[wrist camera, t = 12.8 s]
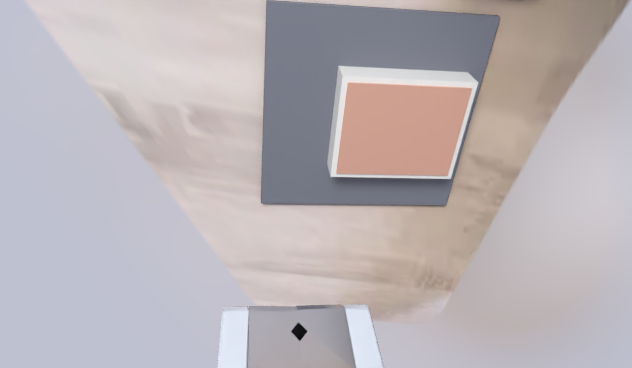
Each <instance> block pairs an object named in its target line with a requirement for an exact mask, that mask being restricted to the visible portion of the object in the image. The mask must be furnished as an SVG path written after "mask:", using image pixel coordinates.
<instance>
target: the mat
mask: <svg viewBox="0 0 632 368" xmlns="http://www.w3.org/2000/svg"><path fill="white" fill-rule="evenodd" d="M499 20H500V17H499V16H497V15H484V14H469V13H454V12H439V11H423V10H408V9H393V8H378V7H363V6H348V5H333V4H318V3H303V2H288V1H273V0H267V2H266V38H265V74H264V109H263V145H262V181H261V203H273V204H370V205H446V203H447V199H448V196H449V192H450V189H451V185H452V182H453V178H454V175H455V172H456V168H457V165H458V161H459V158H460V154H461V151H462V147H463V144H464V141H465V137H466V134H467V130H468V127H469V123H470V120H471V116H472V113H473V109H474V106H475V103H476V99H477V96H478V92H479V89H480V85H481V82H482V78H483V75H484V72H485V68H486V65H487V61H488V58H489V54H490V51H491V47H492V44H493V40H494V37H495V34H496V30H497V27H498V23H499ZM338 66H351V67H372V68H392V69H412V70H433V71H453V72H468V73H469V74H470V75H471V76H472V77H473V78H474V79H475V80H476V81H477V82H478V85H477V89H476V92H475V96H474V99H473V103H472V106H471V110H470V113H469V117H468V120H467V124H466V127H465V131H464V134H463V138H462V141H461V145H460V148H459V152H458V155H457V159H456V162H455V166H454V169H453V173H452V176H451V179H423V178H367V177H330V173H329V169H328V164H327V161H328V152H329V144H330V135H331V126H332V118H333V109H334V100H335V91H336V83H337V74H338Z"/></svg>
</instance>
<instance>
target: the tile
mask: <svg viewBox="0 0 632 368" xmlns="http://www.w3.org/2000/svg"><path fill="white" fill-rule="evenodd" d="M477 85H478V82H477V81H476V80H475V79H474V78H473V77H472V76H471V75H470V74H469V73H468V72H453V71H433V70H412V69H392V68H372V67H351V66H338V74H337V83H336V91H335V100H334V109H333V118H332V126H331V135H330V144H329V152H328V161H327V164H328V169H329V173H330V177H367V178H423V179H451V176H452V173H453V169H454V166H455V162H456V159H457V155H458V152H459V148H460V145H461V141H462V138H463V134H464V131H465V127H466V124H467V120H468V117H469V113H470V110H471V106H472V103H473V99H474V96H475V92H476V89H477Z"/></svg>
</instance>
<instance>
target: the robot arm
mask: <svg viewBox="0 0 632 368" xmlns="http://www.w3.org/2000/svg"><path fill="white" fill-rule="evenodd" d="M218 359H219V360H218V368H384V365H383V361H382V357H381V354H380V350H379V346H378V342H377V338H376V334H375V330H374V326H373V322H372V318H371V314H370V310H369V308H368V306H367V305H366V304H362V305H343V306H342V305H310V306H296V307H288V306H249V325H248V306H224V309H223V312H222V322H221V334H220V347H219V358H218Z"/></svg>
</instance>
